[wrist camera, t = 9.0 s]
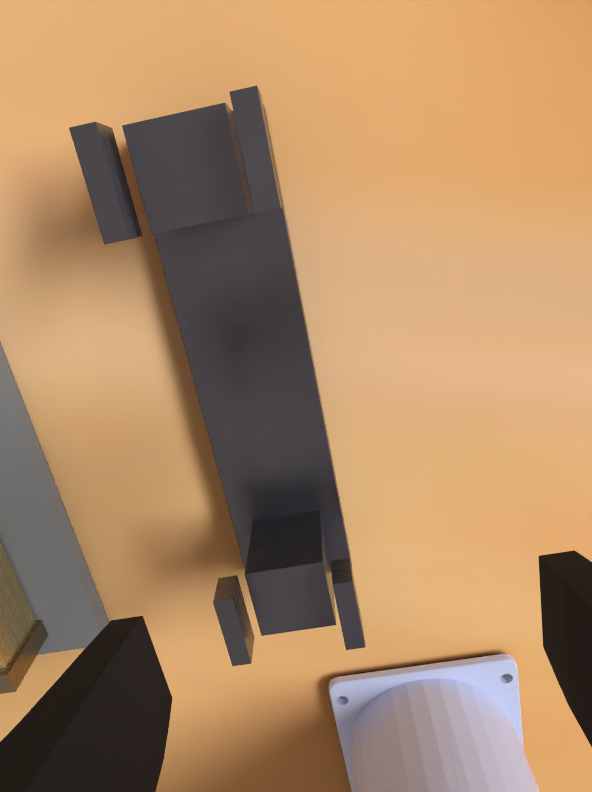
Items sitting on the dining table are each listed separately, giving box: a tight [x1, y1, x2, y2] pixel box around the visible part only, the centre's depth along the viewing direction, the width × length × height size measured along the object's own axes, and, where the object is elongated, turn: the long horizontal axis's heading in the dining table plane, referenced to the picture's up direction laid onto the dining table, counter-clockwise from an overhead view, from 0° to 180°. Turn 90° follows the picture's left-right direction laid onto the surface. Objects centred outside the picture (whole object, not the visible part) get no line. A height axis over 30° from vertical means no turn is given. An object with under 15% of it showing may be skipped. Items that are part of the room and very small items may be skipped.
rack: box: [69, 86, 365, 666], centre depth 17 cm, size 16×4×5 cm, turn 11°
